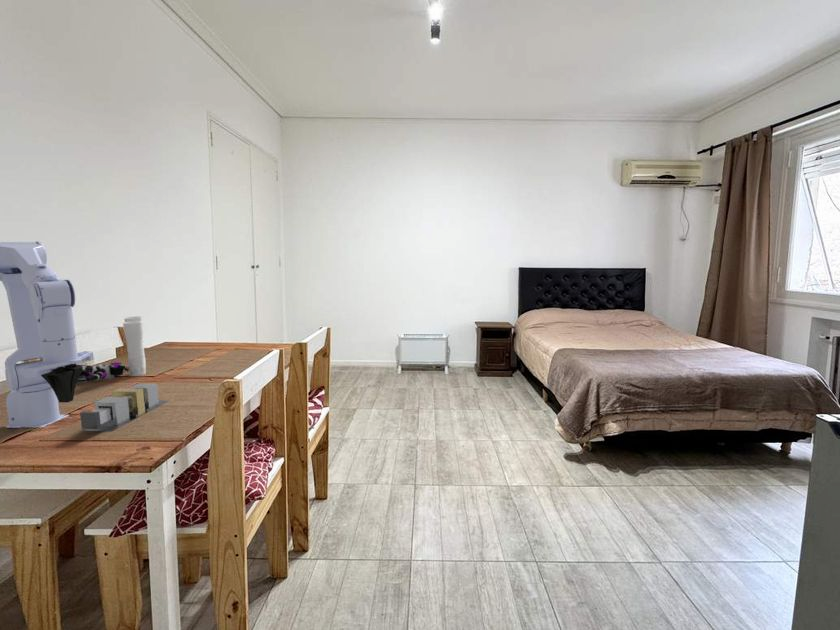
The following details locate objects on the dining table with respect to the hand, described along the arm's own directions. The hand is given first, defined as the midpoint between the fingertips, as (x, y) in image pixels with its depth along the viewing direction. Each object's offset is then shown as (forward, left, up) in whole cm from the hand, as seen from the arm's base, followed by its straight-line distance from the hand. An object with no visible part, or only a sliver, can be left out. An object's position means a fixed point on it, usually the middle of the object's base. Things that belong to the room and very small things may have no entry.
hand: (66, 401), depth 95 cm
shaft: (0, +14, -8) cm, 17 cm away
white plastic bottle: (-29, +59, -10) cm, 66 cm away
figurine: (-38, +45, -11) cm, 60 cm away
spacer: (0, +17, -10) cm, 20 cm away
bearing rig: (0, +17, -10) cm, 20 cm away
